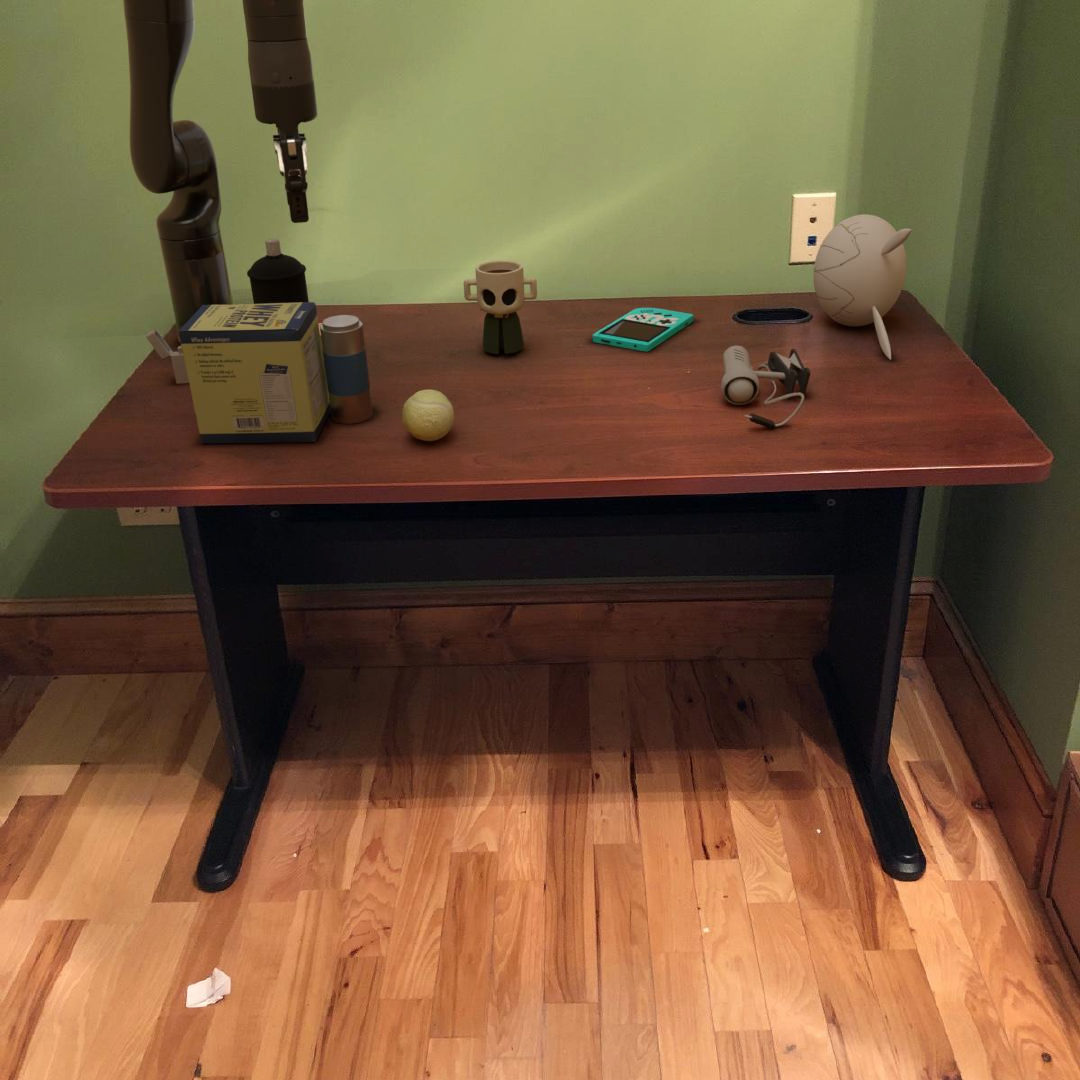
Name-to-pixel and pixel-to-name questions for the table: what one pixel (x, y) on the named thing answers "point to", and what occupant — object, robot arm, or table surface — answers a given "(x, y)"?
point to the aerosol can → (277, 277)
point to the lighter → (166, 351)
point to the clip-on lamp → (744, 382)
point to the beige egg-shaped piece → (861, 272)
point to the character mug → (501, 303)
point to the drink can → (346, 369)
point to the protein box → (256, 372)
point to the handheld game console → (643, 328)
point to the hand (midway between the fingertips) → (298, 213)
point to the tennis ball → (428, 415)
